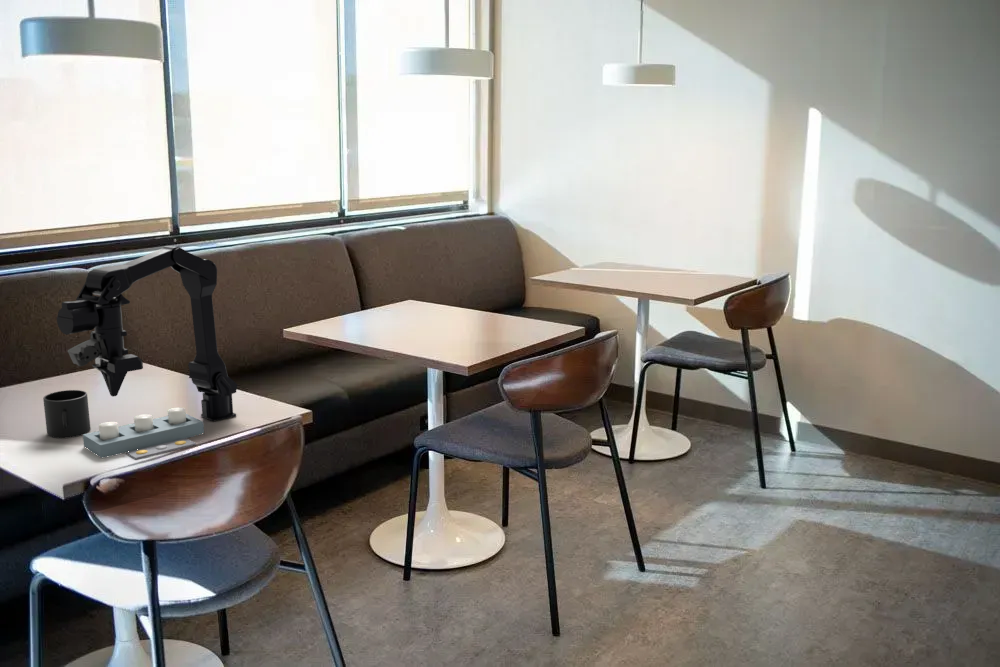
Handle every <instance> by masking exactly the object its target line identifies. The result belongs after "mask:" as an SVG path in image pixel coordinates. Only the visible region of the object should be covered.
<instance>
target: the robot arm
mask: <svg viewBox="0 0 1000 667" xmlns="http://www.w3.org/2000/svg"><path fill="white" fill-rule="evenodd" d="M167 268H168V269H169V268H171V269H172V270H173V271H175V272H177V273H178V274H180V279H181V282H182V286H183V287H184V289H185V290H186V292H187V294H188V295H189V298H190V304H191V306H190V307H191V314H192V316H191V317H192V323H193V324H192V326H193V334H194V341H195V342H194V343H195V344H194V345H195V353H196V354H195V357H194V359H193V360H192V361H189V362H188V363H187V364H188V365H187V366H188V369H189V370H188V371H189V376H188V378H189V379H191V382H192V385H195V387H196V389H197V392H199V393H202V399H201V413H200V416H201V417H202V418H205V419H206V420H208V421H211V422H216V421H221V420H226V419H229V418H234V417H237V413H235V412H234V406H233V404H234V403H233V394H236V393H237V391H238V390H237V388H238V383H237V382H235V380H233V379H232V378H231V377H230V376H228V371H227V367H226V366H227V365H226V364H225V362H224V360H223V359H222V356H221V355H220V354H219V351H218V345H217V332H216V323H215V315H214V305H213V303H214V301H213V294H214V291H215V289H216V287H217V284H218V267H217V265H216V263H214V262H213V261H212V260H210V259H206V258H202V257H199V256H197V255H195V254H193V253H191V252H188V251H187V250H185V249H184V248H181V247H180V246H174V245H165V246H163V247H161V248H160V249H158V250H156V251H153V252H150V253H148V254H145V255H142V256H141V257H138V258H136V259H132V260H130V261H127V262H126V263H123V264H118V265H110V266H109V265H108V266H102V267H96V268H93V269H92V270H90V271H88V273H87V276H86V280H85V282H84V284H83V286H82V287H81V290H80V292H79V293H78V295H77V297H76V300H73V301H62V302H61V308H60V309H59V310H58V313H57V316H56V325H57V326H58V328H59V330H60V332H61V333H62V334H63V335H66V336H67V335H72V334H79V333H83V332H88V331H90V334H89V337H90V338H89V339H88V340H86V341H83V342H80V343H79V344H77V345H75V346H73V347H71V348H69V349H68V350H67V353H68V355H69V358H70V359H71V361H72V363H73V365H77V366H78V367H84V366H86V365H87V364H88V363H89V362H92V361H93V360H94V363H95V364H92V365H91V366H92V368H95V369H96V370H98V371H99V372H100V373H101V375H102V378H103V379H104V382H105V385H106V388H107V390H108V393H109V394H110V395H109V396H111V397H117V396H118V394H119V391H120V389H121V388H122V384H123V383H124V379H125V378H126V375H127V374H128V372H132V371H133V372H134V371H140V370H142V369H144V364H143V362H144V361H143V359H142V358H140V357H139V356H137V355H136V354H132V353H130V354H129V350H128V348H125V340H124V337H125V336H126V337H128V336H127V335H128V334H127V330H125V329H124V328H123V327H124V326H123V316H122V315H123V314H122V306H125V305H129V304H131V303H130V302H131V301H130V300H129V299H128V298H126V297H125V296H124V294H123V293H124V292H126V291H128V290H129V289H130V288H131V286H132V285H133V284H135V283H136V282H137V281H140V280H142V279H144V278H147V277H149V276H152V275H154V274H156V273H158V272H161V271H164V270H165V269H167Z"/></svg>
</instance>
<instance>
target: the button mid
mask: <svg viewBox="0 0 1000 667" xmlns="http://www.w3.org/2000/svg"><path fill="white" fill-rule="evenodd" d="M153 419H154V418H153V415H152V414H149V413H148V414H138V415H136V416H134V417H133V423H134V424H135V431H136V432H138V433H140V432H144V431H149V430H153V429H154V428H153Z"/></svg>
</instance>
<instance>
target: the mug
mask: <svg viewBox="0 0 1000 667" xmlns="http://www.w3.org/2000/svg"><path fill="white" fill-rule="evenodd" d="M42 400H43V408H44V418H45V429H46V434H47V436H48V437H49V438H54V439H69V438H74V437H75V438H77V437H79V436H83V434H87V433H90V430H91V420H90V410H89V409H90V408H89V400H88V393H87V392H86V391H85V390H81V389H80V390H79V389H69V390H68V389H67V390H59V391H54V392H50V393H48V394H46V395H44V396H43V399H42Z"/></svg>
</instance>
